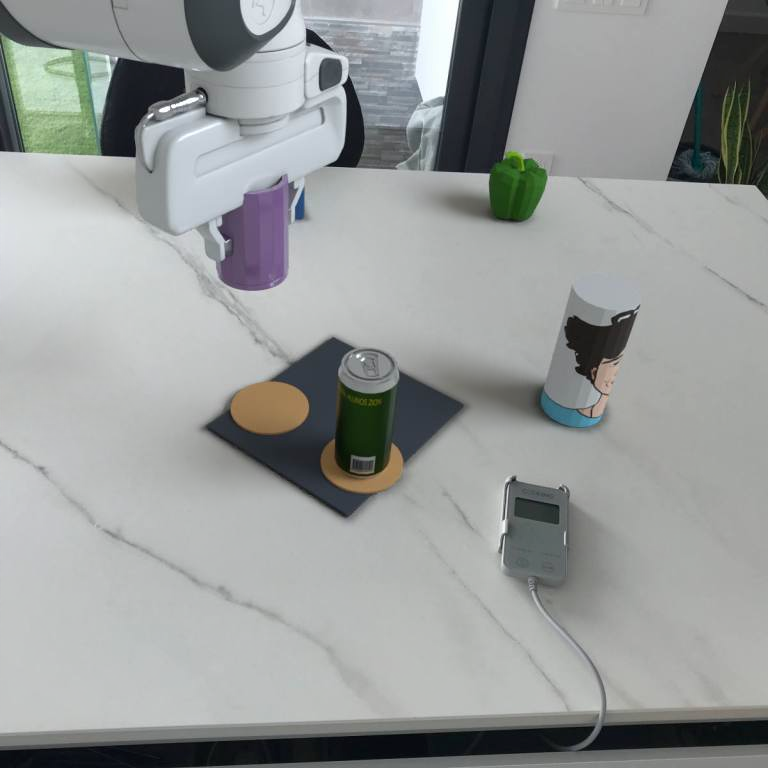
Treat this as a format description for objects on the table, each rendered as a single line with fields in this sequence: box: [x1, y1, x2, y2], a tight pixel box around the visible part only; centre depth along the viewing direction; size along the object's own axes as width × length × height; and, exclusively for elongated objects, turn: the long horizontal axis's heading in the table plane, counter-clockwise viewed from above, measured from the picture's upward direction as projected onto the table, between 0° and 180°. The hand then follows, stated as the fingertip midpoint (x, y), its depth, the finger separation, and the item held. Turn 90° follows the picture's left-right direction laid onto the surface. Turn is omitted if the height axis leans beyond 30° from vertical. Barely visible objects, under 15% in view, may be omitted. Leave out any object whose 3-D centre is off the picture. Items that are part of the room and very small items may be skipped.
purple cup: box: [215, 174, 290, 292], centre depth 65 cm, size 6×6×9 cm
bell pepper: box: [488, 150, 548, 222], centre depth 115 cm, size 8×8×10 cm
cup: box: [540, 271, 644, 428], centre depth 80 cm, size 7×7×15 cm
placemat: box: [206, 336, 465, 518], centre depth 80 cm, size 20×20×1 cm
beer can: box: [334, 346, 400, 480], centre depth 71 cm, size 5×5×12 cm
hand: (252, 239), depth 66 cm, fingers closed on purple cup, 6 cm apart
